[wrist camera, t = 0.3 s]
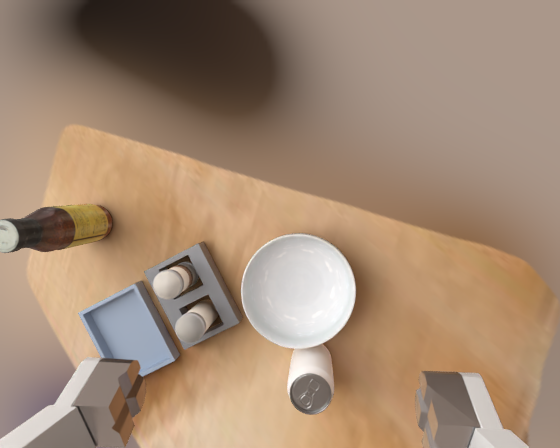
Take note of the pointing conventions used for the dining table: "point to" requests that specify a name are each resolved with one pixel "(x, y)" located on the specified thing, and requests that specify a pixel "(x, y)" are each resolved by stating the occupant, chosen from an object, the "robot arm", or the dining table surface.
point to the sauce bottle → (55, 228)
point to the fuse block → (199, 318)
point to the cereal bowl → (298, 291)
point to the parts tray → (130, 329)
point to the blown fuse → (175, 280)
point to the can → (311, 379)
